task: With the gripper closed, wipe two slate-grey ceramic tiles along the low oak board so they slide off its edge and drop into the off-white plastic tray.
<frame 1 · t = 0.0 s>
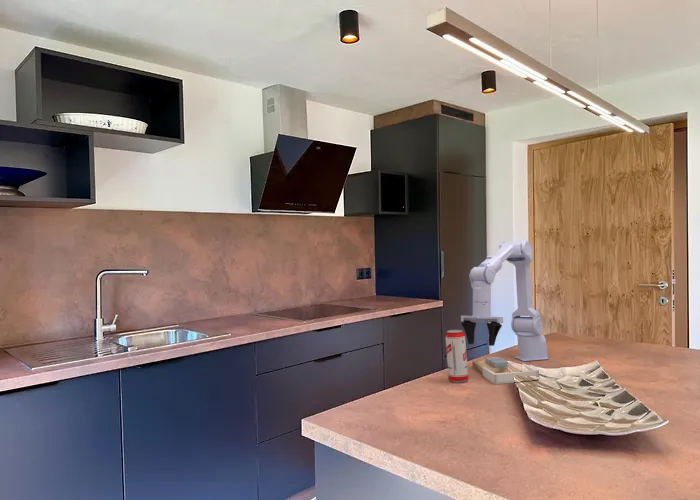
hand: (481, 344, 159), 11 cm above the countertop, tool pointing down, fingers open, 7 cm apart
tile rear: (494, 363, 169), point 2 cm above the countertop, touching board
tray: (510, 378, 155), on the countertop
tile front: (499, 366, 164), point 2 cm above the countertop, touching board
beer can: (458, 381, 157), on the countertop
board: (496, 369, 168), on the countertop
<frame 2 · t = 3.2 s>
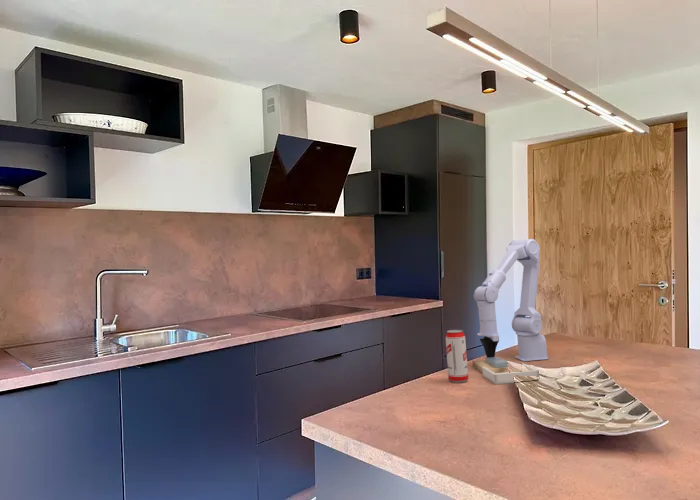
hand: (490, 358, 172), 3 cm above the countertop, tool pointing down, fingers closed
tile rear: (494, 363, 169), point 2 cm above the countertop, touching gripper
everything else where it was.
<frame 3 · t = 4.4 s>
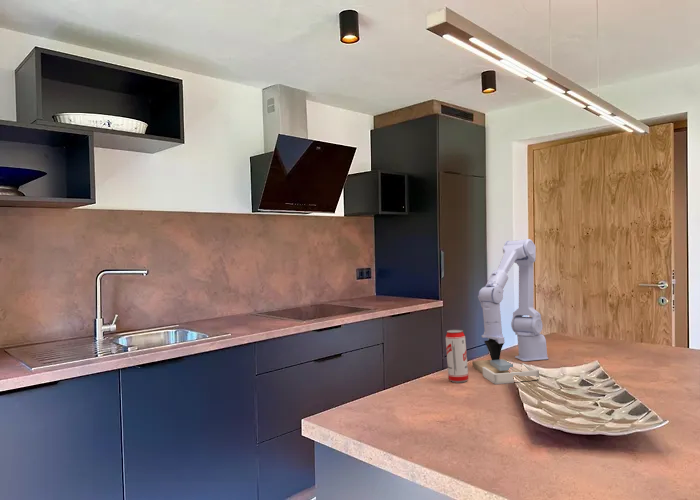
hand: (495, 361, 168), 3 cm above the countertop, tool pointing down, fingers closed
tile rear: (499, 365, 164), point 2 cm above the countertop, touching board, gripper, tile front
tile front: (504, 368, 160), point 2 cm above the countertop, touching tile rear
everything else where it was.
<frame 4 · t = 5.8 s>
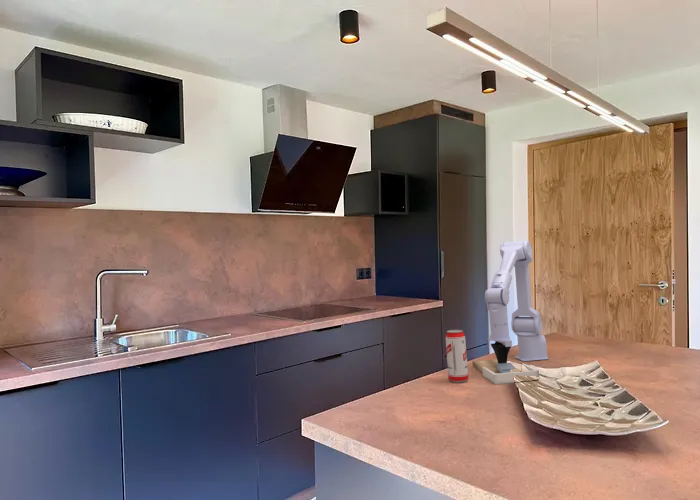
hand: (502, 365, 161), 3 cm above the countertop, tool pointing down, fingers closed
tile rear: (505, 370, 159), point 2 cm above the countertop, tilted 13°, touching gripper, tile front
tile front: (511, 377, 154), point 1 cm above the countertop, touching tile rear, tray
everything else where it was.
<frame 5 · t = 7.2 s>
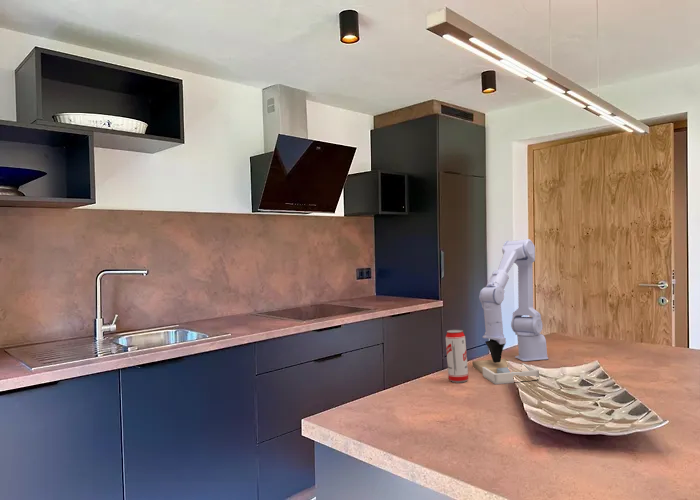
hand: (496, 362, 167), 3 cm above the countertop, tool pointing down, fingers closed
tile rear: (506, 374, 158), point 1 cm above the countertop, touching tray
tile front: (512, 377, 154), point 1 cm above the countertop, touching tray
everything else where it was.
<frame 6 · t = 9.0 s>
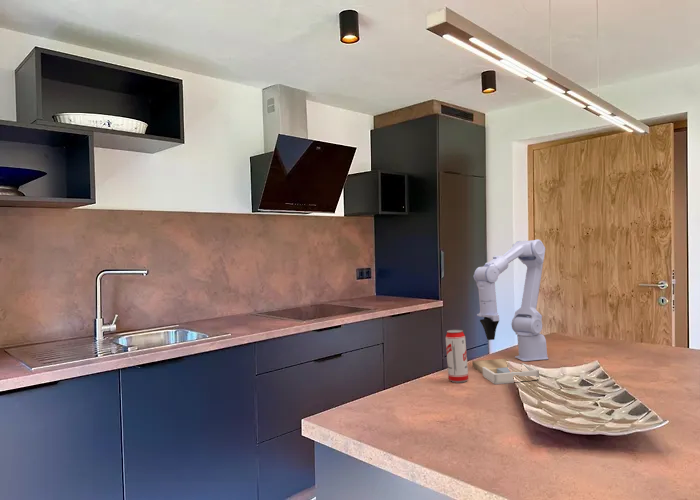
hand: (490, 339, 171), 10 cm above the countertop, tool pointing down, fingers closed
nothing on the countertop moved.
at the end: tile front inside the target area on the tray (1.4 cm from its centre), point 0.6 cm above the tray's base; tile rear inside the target area on the tray (3.2 cm from its centre), point 0.6 cm above the tray's base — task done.
